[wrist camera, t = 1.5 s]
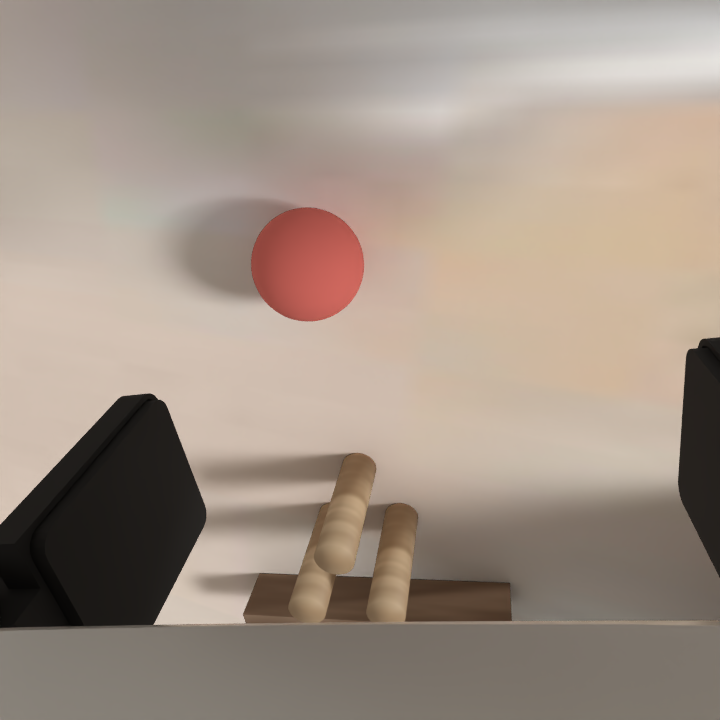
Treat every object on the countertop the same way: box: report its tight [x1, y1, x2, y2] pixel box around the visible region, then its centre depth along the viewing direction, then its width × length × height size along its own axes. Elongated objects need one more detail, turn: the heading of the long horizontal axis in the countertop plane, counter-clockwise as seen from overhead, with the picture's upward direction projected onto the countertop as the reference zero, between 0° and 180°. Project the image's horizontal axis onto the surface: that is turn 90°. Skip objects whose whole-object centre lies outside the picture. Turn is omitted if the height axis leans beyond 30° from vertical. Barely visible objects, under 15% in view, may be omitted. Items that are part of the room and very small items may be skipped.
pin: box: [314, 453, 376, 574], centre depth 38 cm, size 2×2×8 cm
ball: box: [251, 208, 364, 321], centre depth 32 cm, size 6×6×6 cm
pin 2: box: [366, 503, 418, 622], centre depth 40 cm, size 2×2×8 cm
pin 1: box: [288, 503, 336, 623], centre depth 41 cm, size 2×2×8 cm
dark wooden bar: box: [243, 573, 512, 623], centre depth 46 cm, size 2×20×4 cm, turn 98°
